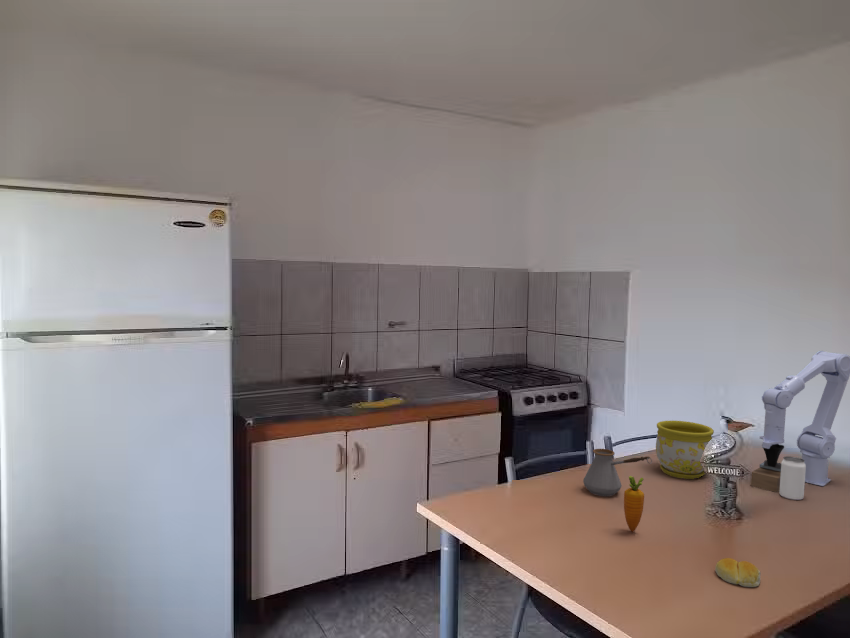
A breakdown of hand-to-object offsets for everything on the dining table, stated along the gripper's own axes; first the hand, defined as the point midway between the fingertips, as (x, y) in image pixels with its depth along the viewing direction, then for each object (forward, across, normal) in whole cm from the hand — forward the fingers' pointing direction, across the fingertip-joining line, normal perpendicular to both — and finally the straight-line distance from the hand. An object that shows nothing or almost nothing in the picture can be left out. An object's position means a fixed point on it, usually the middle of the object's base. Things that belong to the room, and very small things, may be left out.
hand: (771, 466), depth 196 cm
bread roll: (+7, +75, +17) cm, 77 cm away
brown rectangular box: (+6, -1, 0) cm, 6 cm away
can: (+6, +7, +8) cm, 13 cm away
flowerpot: (+6, +12, -24) cm, 28 cm away
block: (+6, -4, 0) cm, 7 cm away
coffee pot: (+7, +51, -27) cm, 58 cm away
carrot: (+7, +71, -11) cm, 72 cm away
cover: (+1, -4, 0) cm, 4 cm away
